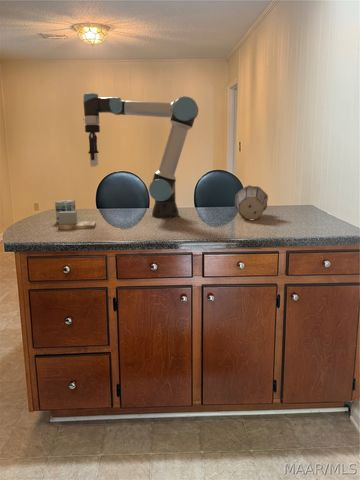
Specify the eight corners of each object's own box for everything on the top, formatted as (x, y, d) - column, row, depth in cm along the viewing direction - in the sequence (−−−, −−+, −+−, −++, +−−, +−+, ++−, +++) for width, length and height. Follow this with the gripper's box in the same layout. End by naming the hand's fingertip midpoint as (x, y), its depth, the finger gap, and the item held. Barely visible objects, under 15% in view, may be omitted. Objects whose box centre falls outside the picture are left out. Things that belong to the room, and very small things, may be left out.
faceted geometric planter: (269, 193, 211) (265, 175, 237) (234, 195, 213) (234, 177, 240) (269, 225, 218) (265, 204, 245) (235, 226, 221) (235, 205, 248)
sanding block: (77, 222, 207) (76, 210, 206) (76, 224, 202) (75, 212, 201) (61, 223, 206) (60, 211, 205) (59, 225, 201) (58, 212, 200)
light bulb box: (67, 222, 216) (66, 202, 213) (55, 222, 217) (54, 202, 214) (76, 219, 226) (75, 199, 223) (65, 219, 227) (64, 199, 225)
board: (95, 224, 211) (95, 221, 211) (94, 228, 200) (93, 225, 200) (61, 225, 209) (61, 222, 209) (58, 229, 198) (58, 226, 198)
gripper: (87, 125, 227) (89, 165, 231) (82, 123, 203) (84, 167, 207) (101, 125, 228) (103, 164, 232) (97, 123, 203) (99, 166, 208)
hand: (94, 166), depth 220 cm, fingers open, 13 cm apart
